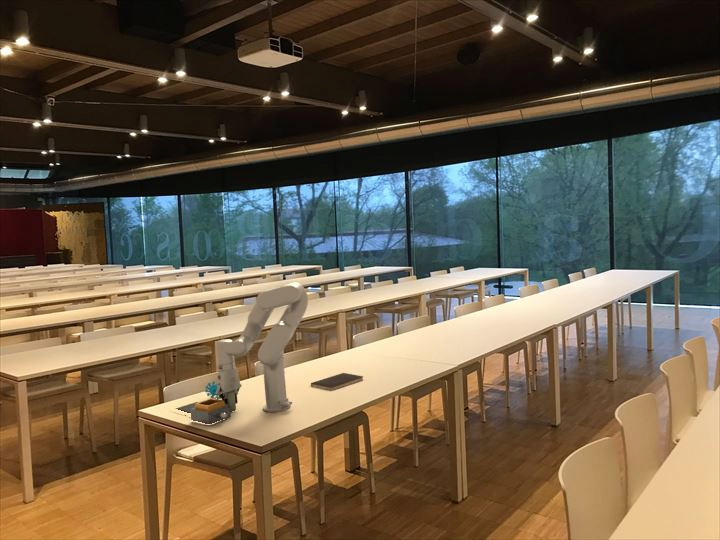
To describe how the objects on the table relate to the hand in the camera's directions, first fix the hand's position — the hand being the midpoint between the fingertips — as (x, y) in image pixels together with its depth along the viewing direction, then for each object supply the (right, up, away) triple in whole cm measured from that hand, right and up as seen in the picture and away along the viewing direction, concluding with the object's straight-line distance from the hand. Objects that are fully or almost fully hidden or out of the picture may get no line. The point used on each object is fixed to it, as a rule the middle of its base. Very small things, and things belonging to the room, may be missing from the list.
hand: (230, 404), depth 266 cm
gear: (-12, -2, +24) cm, 27 cm away
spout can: (0, -3, 0) cm, 3 cm away
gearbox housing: (-4, -4, -13) cm, 14 cm away
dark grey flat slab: (-17, -5, +5) cm, 19 cm away
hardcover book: (+48, +2, +35) cm, 60 cm away
